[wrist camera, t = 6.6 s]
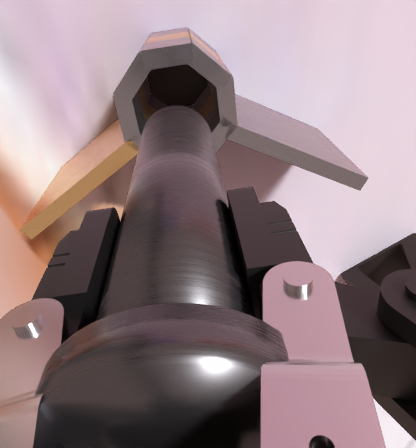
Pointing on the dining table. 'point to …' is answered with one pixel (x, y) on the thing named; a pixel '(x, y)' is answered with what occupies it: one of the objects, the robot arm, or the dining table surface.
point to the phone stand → (383, 264)
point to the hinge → (207, 107)
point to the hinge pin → (167, 314)
